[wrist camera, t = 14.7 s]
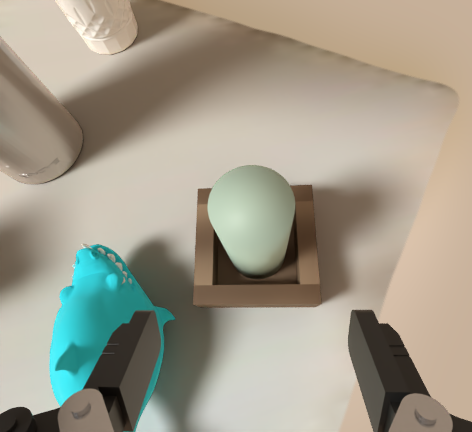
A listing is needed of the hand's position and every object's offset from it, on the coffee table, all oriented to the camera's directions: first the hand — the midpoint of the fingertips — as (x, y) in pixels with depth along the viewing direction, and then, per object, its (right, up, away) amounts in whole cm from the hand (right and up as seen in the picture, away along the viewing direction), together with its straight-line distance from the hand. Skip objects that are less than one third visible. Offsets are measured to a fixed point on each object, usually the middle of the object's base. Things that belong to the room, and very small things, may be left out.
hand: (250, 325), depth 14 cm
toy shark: (-10, -8, +15) cm, 20 cm away
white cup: (-16, +27, +28) cm, 42 cm away
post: (+1, +1, +16) cm, 17 cm away
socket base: (+1, +1, +17) cm, 17 cm away
